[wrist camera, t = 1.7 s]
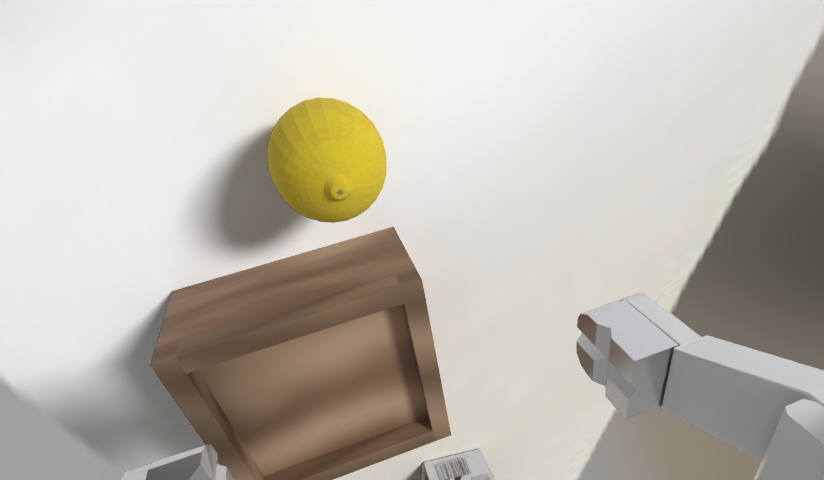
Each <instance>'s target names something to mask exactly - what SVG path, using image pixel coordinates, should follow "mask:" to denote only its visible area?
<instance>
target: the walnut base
mask: <svg viewBox="0 0 824 480" xmlns="http://www.w3.org/2000/svg"><path fill="white" fill-rule="evenodd" d="M150 366H151V367H152V369H153V370H154V371H155V373H156V374H157V376H158V377H159V379H160V380H161V381H162V383H163V384H164V386H165V387H166V389H167V390H168V391H169V393H170V394H171V396H172V397H173V398H174V400H175V401H176V403H177V404H178V406H179V407H180V408H181V410H182V411H183V413H184V414H185V416H186V417H187V418H188V420H189V421H190V423H191V424H192V425H193V427H194V428H195V430H196V431H197V433H198V434H199V435H200V437H201V438H202V440H203V441H204V443H205V444H206V445H209V444H211V446H212V447H213V448H214V450H215V451H216V452H217V454H218V457H217V461H218V462H219V464H220V465H222V466H225V467H227V468H228V470H229V471H230V473H231V475H232V478H233V480H333V479H335V478H338V477H341V476H343V475H346V474H349V473H351V472H354V471H357V470H359V469H362V468H365V467H367V466H370V465H373V464H375V463H378V462H381V461H383V460H386V459H389V458H391V457H394V456H397V455H399V454H402V453H405V452H407V451H410V450H413V449H415V448H418V447H421V446H423V445H426V444H429V443H431V442H434V441H437V440H439V439H442V438H445V437H447V436H450V435H451V432H450V427H449V422H448V416H447V411H446V406H445V400H444V395H443V390H442V384H441V379H440V374H439V368H438V363H437V358H436V353H435V347H434V342H433V337H432V331H431V326H430V321H429V315H428V310H427V305H426V299H425V294H424V289H423V284H422V279H421V278H420V276H419V274H418V272H417V270H416V268H415V266H414V264H413V263H412V261H411V259H410V257H409V255H408V253H407V251H406V250H405V248H404V246H403V244H402V242H401V240H400V238H399V236H398V235H397V233H396V231H395V229H394V227H392V228H388V229H385V230H381V231H378V232H374V233H371V234H368V235H364V236H361V237H357V238H354V239H350V240H347V241H344V242H340V243H337V244H333V245H330V246H326V247H323V248H319V249H316V250H313V251H309V252H306V253H302V254H299V255H295V256H292V257H289V258H285V259H282V260H278V261H275V262H271V263H268V264H265V265H261V266H258V267H254V268H251V269H247V270H244V271H240V272H237V273H234V274H230V275H227V276H223V277H220V278H216V279H213V280H210V281H206V282H203V283H199V284H196V285H192V286H189V287H186V288H182V289H179V290H175V291H172V293H171V296H170V300H169V303H168V306H167V310H166V313H165V317H164V320H163V323H162V327H161V330H160V334H159V337H158V341H157V344H156V347H155V351H154V354H153V358H152V361H151V365H150Z"/></svg>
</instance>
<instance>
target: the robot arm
mask: <svg viewBox="0 0 824 480" xmlns="http://www.w3.org/2000/svg"><path fill="white" fill-rule="evenodd" d="M577 327H578V328H579V329H580V330H581V331H582V334H581V336H580V337H579V339H578V340H577V354H578V357H579V360H580V363H581V365H582V367H583V369H584V370H585V372H586V373H587V374H588V376H589V377H590V378H591V379H592V381H594V382H597V383H599V384H602V385H604V386H605V394H606V397H607V398H608V400H609V401H610V402H611V403H612V404H613V405H614V407H615V408H616V409H617V410H618V411H619V412H620V414H621V415H622V416H623V417H624V418H625V419H626V420H628V419H630V418H633V417H636V416H638V415H641V414H644V413H647V412H650V411H652V410H655V409H658V408H660V407H662V408H661V409H662V410H663V411H665V412H667V413H669V414H671V415H673V416H675V417H677V418H679V419H680V420H682V421H684V422H686V423H688V424H690V425H692V426H694V427H696V428H698V429H700V430H702V431H703V432H705V433H707V434H709V435H711V436H713V437H715V438H717V439H719V440H720V441H723V442H724V443H726V444H728V445H730V446H732V447H734V448H736V449H738V450H740V451H742V452H743V453H745V454H747V455H749V456H751V457H753V458H755V459H757V460H759V461H761V464H760V466H759V469H758V471H757V473H756V475H755V478H754V480H824V371H823V370H820V369H817V368H813V367H810V366H806V365H803V364H800V363H797V362H794V361H790V360H787V359H784V358H780V357H777V356H774V355H770V354H767V353H764V352H760V351H757V350H754V349H751V348H747V347H744V346H741V345H737V344H734V343H731V342H727V341H724V340H721V339H717V338H714V337H711V336H704V337H700V336H699V335H698V334H696V333H695V332H694V331H693V330H691V329H690V328H689V327H687V326H686V325H685V324H684V323H682V322H681V321H680V320H678V319H677V318H676V317H675V316H673V315H672V314H671V313H670V312H668V311H667V310H666V309H665V308H663V307H662V306H661V305H659V304H658V303H657V302H656V301H654V300H653V299H652V298H651V297H649V296H648V295H646V294H643V293H638V294H635V295H632V296H629V297H626V298H623V299H621V300H617V301H614V302H611V303H609V304H606V305H603V306H600V307H598V308H595V309H592V310H589V311H587V312H584V313H581V314H580V316H579V317H578V324H577ZM217 457H218V454H217V452H216V451H215V450H214V448H213V447H212V446H211V444H209V445H204V446H201V447H198V448H195V449H192V450H189V451H186V452H183V453H179V454H176V455H173V456H170V457H167V458H164V459H161V460H158V461H155V462H152V463H149V464H146V465H143V466H140V467H137V468H134V469H131V470H128V471H126V472H125V473H124V475H123V476H122V477H121V479H120V480H233V478H232V475H231V473H230V471H229V470H228V468H227V467H225V466H222V465H219V464H217Z"/></svg>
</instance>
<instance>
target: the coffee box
mask: <svg viewBox="0 0 824 480" xmlns="http://www.w3.org/2000/svg"><path fill="white" fill-rule="evenodd" d="M421 480H494V478H493V475H492V473H491V471H490V469H489V467H488V465H487V463H486V461H485V459H484V456H483V454H482V452H481V450H480V449H476V450H472V451H468V452H464V453H459V454H455V455H451V456H447V457H443V458H439V459H435V460H430V461H426V462H424V463H422V469H421Z"/></svg>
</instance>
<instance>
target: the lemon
mask: <svg viewBox="0 0 824 480" xmlns="http://www.w3.org/2000/svg"><path fill="white" fill-rule="evenodd" d="M268 168H269V171H270V175H271V178H272V181H273V183H274V185H275V187H276V188H277V190H278V192H279V194H280V195H281V197H282V198H283V199H284V200H285V201H286V202H287V203H288V204H289V205H290V206H291V207H292V208H293V209H294V210H295V211H297V212H299V213H300V214H302V215H304V216H305V217H307V218H310V219H314V220H317V221H320V222H340V221H346V220H348V219H351V218H354V217H356V216H358V215H359V214H361V213H362V212H364V211H365V210H367V209H368V208H369V207H370V206H371V205H372V203H373V202H374V201H375V200H376V198H377V197H378V195H379V193H380V191H381V189H382V187H383V184H384V180H385V176H386V153H385V149H384V145H383V142H382V139H381V137H380V135H379V133H378V131H377V130H376V128H375V126H374V124H373V123H372V122H371V121H370V120H369V119H368V118H367V117H366V116H365V115H364V114H363V113H362V112H361V111H360V110H358V109H357V108H355V107H353V106H352V105H350V104H348V103H346V102H343V101H339V100H336V99H332V98H315V99H311V100H306V101H303V102H301V103H299V104H297V105H295V106H293V107H292V108H290V109H289V110H288V111H287V112H286V113H285V114H284V115H283V116H282V117H281V118H280V119H279V121H278V122H277V124H276V125H275V127H274V129H273V130H272V133H271V137H270V140H269V144H268Z"/></svg>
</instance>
